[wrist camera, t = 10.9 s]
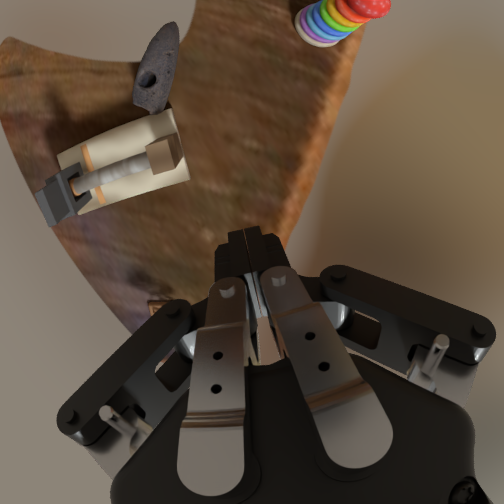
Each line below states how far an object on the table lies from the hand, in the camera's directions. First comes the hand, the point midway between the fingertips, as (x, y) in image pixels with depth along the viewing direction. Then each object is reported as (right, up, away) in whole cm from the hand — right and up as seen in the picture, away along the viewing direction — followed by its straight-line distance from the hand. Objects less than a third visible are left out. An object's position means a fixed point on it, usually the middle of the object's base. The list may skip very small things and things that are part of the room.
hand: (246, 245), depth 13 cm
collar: (-27, +11, +22) cm, 36 cm away
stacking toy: (+11, +36, +18) cm, 41 cm away
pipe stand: (-22, +14, +26) cm, 37 cm away
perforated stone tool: (-13, +28, +19) cm, 36 cm away
